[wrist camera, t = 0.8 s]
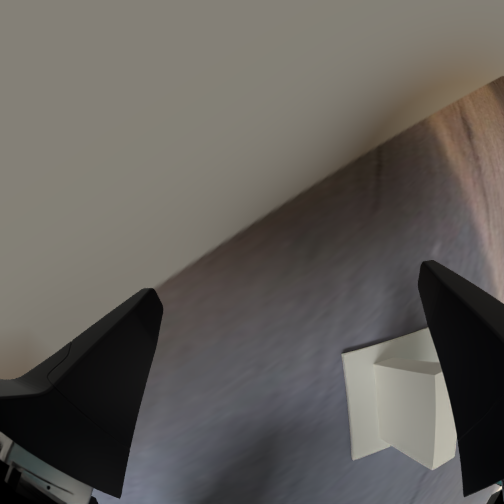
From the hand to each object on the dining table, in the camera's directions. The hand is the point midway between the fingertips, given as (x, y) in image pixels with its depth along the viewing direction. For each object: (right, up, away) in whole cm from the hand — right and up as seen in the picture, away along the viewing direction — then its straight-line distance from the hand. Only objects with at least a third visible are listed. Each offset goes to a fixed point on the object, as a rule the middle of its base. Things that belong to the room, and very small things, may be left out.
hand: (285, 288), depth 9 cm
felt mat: (+14, -11, +11) cm, 21 cm away
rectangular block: (+10, -11, +10) cm, 18 cm away
